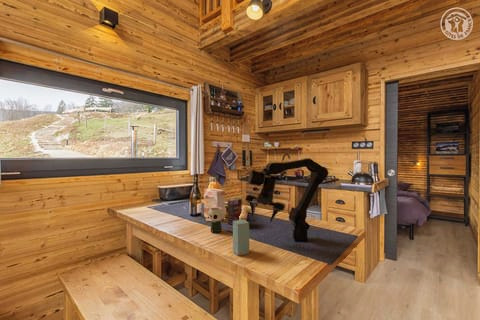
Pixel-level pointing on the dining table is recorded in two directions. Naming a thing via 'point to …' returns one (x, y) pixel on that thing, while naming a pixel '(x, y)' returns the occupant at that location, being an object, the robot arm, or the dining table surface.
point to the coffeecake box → (213, 200)
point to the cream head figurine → (216, 218)
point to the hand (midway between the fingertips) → (261, 219)
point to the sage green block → (241, 236)
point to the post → (241, 254)
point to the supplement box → (234, 210)
